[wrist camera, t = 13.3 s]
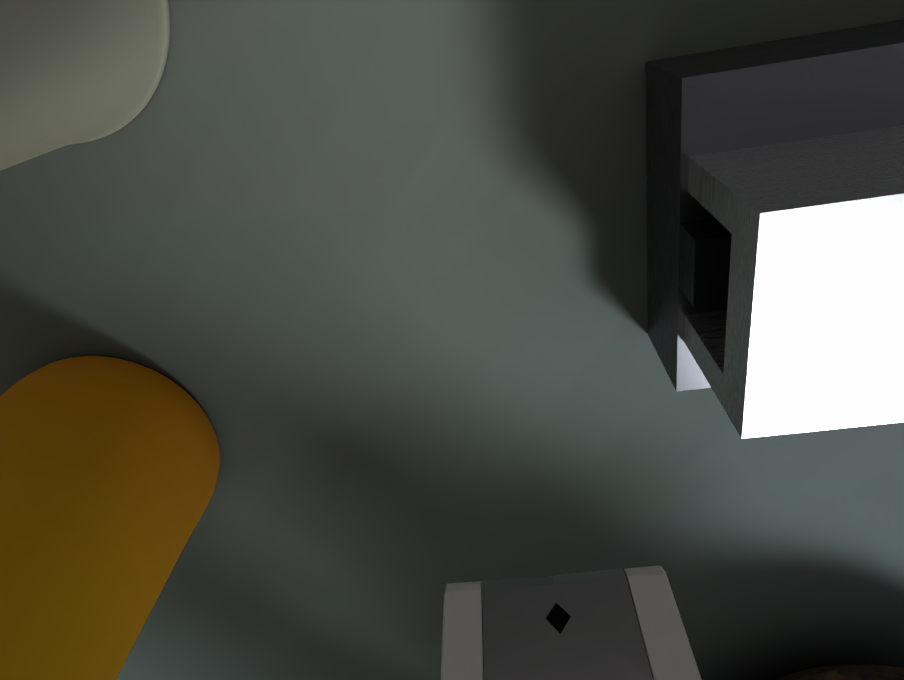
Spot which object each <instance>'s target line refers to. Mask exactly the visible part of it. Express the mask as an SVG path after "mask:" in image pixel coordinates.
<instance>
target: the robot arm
mask: <svg viewBox="0 0 904 680" xmlns="http://www.w3.org/2000/svg"><path fill="white" fill-rule="evenodd" d="M441 680H702V679H701V676H700V673H699V670H698V667H697V664H696V661H695V658H694V655H693V652H692V649H691V646H690V643H689V640H688V637H687V634H686V631H685V628H684V625H683V622H682V619H681V616H680V613H679V610H678V607H677V605H676V602H675V599H674V596H673V593H672V590H671V587H670V584H669V581H668V578H667V575H666V572H665V571H664V569H663V568H662V567H661V566H648V567H637V568H626V569H624V570H623V569H622V568H617V569H607V570H597V571H588V572H578V573H568V574H558V575H552V577H538V578H521V579H505V580H488V581H475V582H462V583H449V584H447V586H446V589H445V593H444V610H443V635H442V659H441Z"/></svg>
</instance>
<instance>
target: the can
mask: <svg viewBox="0 0 904 680" xmlns="http://www.w3.org/2000/svg"><path fill="white" fill-rule="evenodd" d="M169 40H170V13H169V4H168V0H0V171H1V170H4V169H6V168H9V167H11V166H14V165H17V164H19V163H22V162H24V161H27V160H30V159H32V158H35V157H37V156H40V155H43V154H45V153H48V152H51V151H53V150H56V149H59V148H61V147H64V146H67V145H71V144H79V143H85V142H90V141H93V140H97V139H100V138H103V137H105V136H108V135H110V134H112V133H114V132H116V131H118V130H119V129H121V128H122V127H124V126H125V125H127V124H128V123H129V122H131V121H132V120H133V119H134V118H135V117H136V116H137V115H138V114H139V113H140V112H141V111H142V110H143V108H144V107H145V106H146V105H147V103H148V102H149V101H150V99H151V97H152V96H153V94H154V92H155V91H156V89H157V86H158V84H159V82H160V79H161V77H162V74H163V71H164V67H165V64H166V61H167V55H168V48H169Z"/></svg>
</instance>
